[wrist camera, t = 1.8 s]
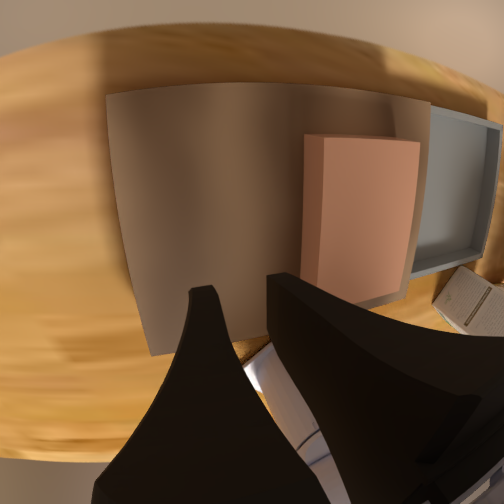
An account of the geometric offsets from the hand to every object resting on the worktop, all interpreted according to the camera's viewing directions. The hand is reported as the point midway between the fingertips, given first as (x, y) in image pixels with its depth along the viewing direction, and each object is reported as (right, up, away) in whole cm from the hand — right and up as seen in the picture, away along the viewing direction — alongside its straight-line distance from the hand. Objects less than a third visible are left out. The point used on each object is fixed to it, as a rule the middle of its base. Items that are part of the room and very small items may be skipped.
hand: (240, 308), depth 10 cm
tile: (+6, +4, +8) cm, 10 cm away
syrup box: (+23, -3, +21) cm, 32 cm away
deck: (+2, +5, +10) cm, 12 cm away
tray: (+17, +7, +14) cm, 23 cm away
